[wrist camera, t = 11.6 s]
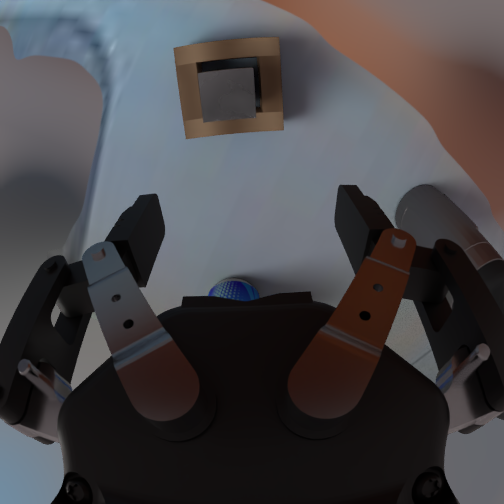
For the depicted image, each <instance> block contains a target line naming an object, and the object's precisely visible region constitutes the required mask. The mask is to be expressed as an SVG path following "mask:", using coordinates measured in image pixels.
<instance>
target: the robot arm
mask: <svg viewBox="0 0 504 504" xmlns="http://www.w3.org/2000/svg"><path fill="white" fill-rule="evenodd" d="M395 220H396V225H397V227H398V229H396V228H394V226H393V225H392V223H391V222H390V220H389V219H388V218H387V216H386V215H385V214H384V212H383V211H382V209H380V207H379V205H378V204H377V203H376V201H374V200H373V199H371V198H370V197H368V196H364V195H363V193H362V192H361V191H360V189H359V188H358V187H357V185H339V187H338V193H337V201H336V209H335V228H336V230H337V233H338V235H339V237H340V239H341V242H342V244H343V246H344V249H345V251H346V253H347V256H348V258H349V261H350V263H351V265H352V268H353V270H354V273H355V275H356V276H355V277H354V279H353V281H352V283H351V284H350V286H349V288H348V289H347V291H346V293H345V294H344V296H343V298H342V299H341V301H340V303H339V304H338V306H337V308H335V307H333V306H331V305H328V304H325V303H321V302H317V301H313V300H312V296H311V291H310V292H294V293H279V294H275V295H271V296H267V297H263V298H259V299H254V300H250V301H240V300H234V299H228V298H223V297H217V296H186V297H183V300H182V305H181V306H179V307H176V308H173V309H170V310H167V311H165V312H163V313H161V314H160V315H158V316H157V317H156V315H155V313H154V312H153V310H152V309H151V307H150V305H149V304H148V302H147V300H146V299H145V297H144V295H143V294H142V292H141V290H140V289H139V287H146V285H147V282H148V279H149V276H150V274H151V271H152V268H153V265H154V262H155V260H156V257H157V254H158V252H159V249H160V246H161V244H162V241H163V238H164V235H165V224H164V220H163V216H162V211H161V207H160V203H159V199H158V196H157V194H146V195H140V196H139V197H138V198H137V200H136V201H135V203H134V204H133V206H132V207H129V208H128V209H127V210H125V211H124V212H123V213H122V214H121V216H120V217H119V219H118V221H117V222H116V223H115V225H114V227H113V228H112V230H111V231H110V233H109V234H108V236H107V238H106V239H105V241H104V242H99V243H97V244H94V245H93V246H91V247H90V248H88V249H87V250H86V251H85V253H84V254H83V256H82V261H78V262H75V263H72V264H69V265H68V263H67V261H66V259H65V258H64V256H61V255H57V256H53V257H51V258H49V259H48V260H46V261H45V262H44V263H43V264H42V265H41V266H40V268H39V269H38V271H37V273H36V274H35V276H34V278H33V279H32V281H31V283H30V285H29V287H28V288H27V290H26V292H25V294H24V296H23V297H22V299H21V301H20V303H19V305H18V307H17V309H16V311H15V313H14V315H13V317H12V319H11V321H10V323H9V325H8V327H7V329H6V332H5V334H4V336H3V338H2V341H1V343H0V418H1V419H2V420H4V422H5V423H7V424H8V425H10V426H11V427H13V428H15V429H16V430H18V431H19V432H21V433H23V434H25V435H26V436H29V437H32V438H34V439H35V440H37V441H39V442H41V443H43V444H47V445H48V444H52V443H54V442H58V443H60V445H61V450H62V455H63V463H64V480H63V484H62V487H61V489H60V491H59V493H58V494H57V496H56V497H55V499H54V500H53V501H52V503H51V504H460V503H459V502H458V500H457V499H456V497H455V496H454V494H453V492H452V490H451V488H450V486H449V484H448V482H447V480H446V477H445V473H444V454H445V446H446V440H447V435H448V434H451V433H453V432H456V431H459V432H460V433H463V434H469V433H471V432H473V431H475V430H476V429H478V428H480V427H481V426H483V425H485V424H486V423H488V422H489V421H491V420H492V419H494V418H495V417H497V418H499V419H503V420H504V260H503V259H502V257H501V256H500V255H499V254H498V252H497V251H496V250H495V249H494V248H493V247H492V245H491V244H490V243H489V242H488V241H487V240H486V239H485V237H484V236H483V235H482V234H481V233H480V232H479V231H478V227H477V226H476V225H475V224H474V223H473V221H472V220H471V219H470V218H469V217H468V216H467V215H466V214H465V213H464V212H463V211H462V210H461V209H460V208H459V207H458V206H457V205H456V204H454V203H453V202H452V201H451V200H450V199H449V198H448V197H447V196H446V195H445V194H441V193H440V192H439V191H438V190H437V189H436V188H434V187H433V186H430V185H421V186H417V187H415V188H413V189H412V190H410V191H409V192H408V193H407V194H406V195H405V196H404V197H403V198H402V200H401V201H400V203H399V205H398V207H397V210H396V216H395ZM402 298H404V299H410V300H413V302H414V304H415V306H416V309H417V311H418V314H419V316H420V319H421V321H422V324H423V326H424V329H425V332H426V334H427V337H428V340H429V343H430V346H431V348H432V351H433V354H434V357H435V360H436V363H437V366H438V370H439V372H438V374H437V376H436V384H435V383H433V382H432V381H431V380H430V379H428V378H427V377H426V376H425V375H423V374H422V373H421V372H420V371H418V370H417V369H416V368H414V367H413V366H412V365H411V364H409V363H408V362H407V361H406V360H404V359H403V358H402V357H400V356H399V355H398V354H397V353H395V352H394V351H393V350H392V349H390V348H389V347H388V346H386V345H385V342H386V340H387V337H388V335H389V332H390V330H391V327H392V324H393V322H394V319H395V316H396V314H397V311H398V308H399V305H400V302H401V300H402ZM55 304H57V306H58V307H59V309H60V310H61V312H60V314H59V317H58V319H57V322H56V324H55V326H54V327H53V325H52V322H51V313H52V310H53V308H54V306H55ZM92 312H95V313H96V316H97V319H98V321H99V324H100V327H101V329H102V332H103V335H104V337H105V340H106V342H107V345H108V347H109V350H110V352H111V354H112V356H111V357H110V358H108V359H107V360H106V361H105V362H104V363H103V364H102V365H101V366H100V367H98V368H97V369H96V370H95V371H94V372H93V373H92V374H91V375H90V376H89V377H88V378H86V379H85V380H84V381H83V382H82V383H81V384H80V385H79V386H78V387H76V388H75V389H74V390H73V391H72V388H71V385H70V384H71V380H72V376H73V372H74V368H75V365H76V361H77V358H78V355H79V351H80V348H81V345H82V341H83V338H84V335H85V332H86V329H87V326H88V323H89V320H90V318H91V315H92Z"/></svg>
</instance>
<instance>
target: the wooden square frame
mask: <svg viewBox="0 0 504 504" xmlns="http://www.w3.org/2000/svg"><path fill="white" fill-rule="evenodd" d="M174 56H175V64H176V72H177V80H178V88H179V95H180V102H181V109H182V116H183V122H184V129H185V135H186V139H191V138H198V137H206V136H214V135H223V134H234V133H245V132H259V131H277V130H284V124H283V99H282V79H281V61H280V46H279V37H261V38H243V39H231V40H221V41H213V42H206V43H199V44H193V45H187V46H181V47H176V48H174ZM253 57H257V67H258V80H259V95H260V107H256V118H248V119H235V120H224V121H214V122H205V123H203V116H202V107H201V99H200V90H199V81H198V73H202V63H204V62H211V61H219V60H228V59H239V58H253Z"/></svg>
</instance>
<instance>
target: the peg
mask: <svg viewBox="0 0 504 504" xmlns="http://www.w3.org/2000/svg"><path fill="white" fill-rule="evenodd" d="M198 81H199V90H200V99H201V107H202V116H203V123H205V122H214V121H224V120H235V119H248V118H256V103H255V88H254V72H253V68H251V67H244V68H231V69H221V70H212V71H207V72H202V73H198Z"/></svg>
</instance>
